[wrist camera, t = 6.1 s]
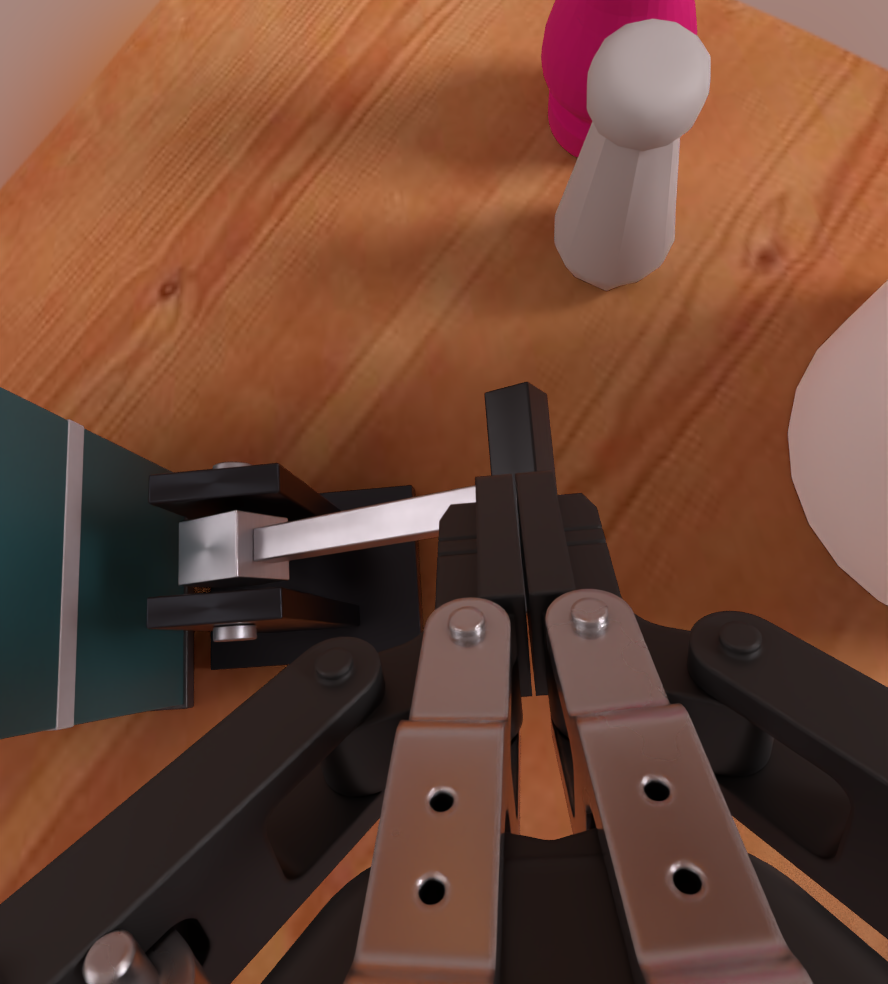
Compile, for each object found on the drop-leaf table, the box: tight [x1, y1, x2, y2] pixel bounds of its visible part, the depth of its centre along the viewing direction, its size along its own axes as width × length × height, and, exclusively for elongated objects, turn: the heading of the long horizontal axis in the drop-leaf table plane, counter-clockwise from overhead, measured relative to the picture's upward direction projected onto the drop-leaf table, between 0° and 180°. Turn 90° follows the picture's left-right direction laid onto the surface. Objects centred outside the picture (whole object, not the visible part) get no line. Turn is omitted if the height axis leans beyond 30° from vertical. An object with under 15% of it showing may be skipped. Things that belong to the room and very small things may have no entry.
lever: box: [178, 382, 557, 615], centre depth 22 cm, size 13×6×2 cm, turn 96°
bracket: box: [146, 462, 424, 670], centre depth 29 cm, size 10×8×13 cm
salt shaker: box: [554, 19, 710, 291], centre depth 31 cm, size 6×6×13 cm
